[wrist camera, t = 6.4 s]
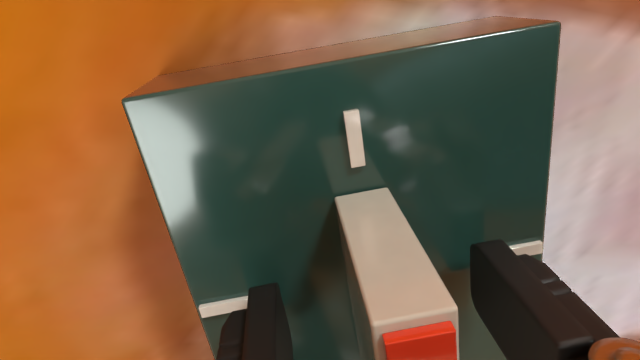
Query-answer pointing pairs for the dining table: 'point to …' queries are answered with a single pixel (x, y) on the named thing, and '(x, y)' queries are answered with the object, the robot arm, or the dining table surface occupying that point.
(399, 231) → the tap handle
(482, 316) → the robot arm
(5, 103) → the dining table surface
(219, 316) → the green switch panel
